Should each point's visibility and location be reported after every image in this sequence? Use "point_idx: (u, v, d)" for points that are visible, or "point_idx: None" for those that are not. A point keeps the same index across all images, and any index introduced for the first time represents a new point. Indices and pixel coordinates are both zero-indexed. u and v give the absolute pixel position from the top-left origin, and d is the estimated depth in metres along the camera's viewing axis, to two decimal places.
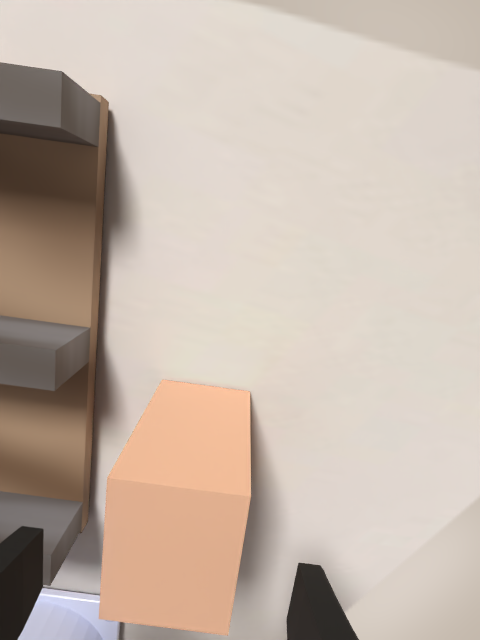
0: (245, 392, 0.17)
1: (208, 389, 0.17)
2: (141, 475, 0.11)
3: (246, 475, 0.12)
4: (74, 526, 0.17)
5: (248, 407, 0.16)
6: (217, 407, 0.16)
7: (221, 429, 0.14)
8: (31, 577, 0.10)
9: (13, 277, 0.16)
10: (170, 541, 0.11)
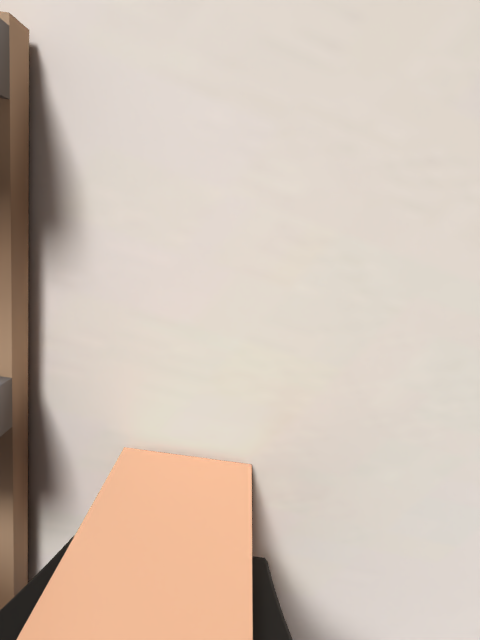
0: (244, 468, 0.12)
1: (190, 463, 0.12)
2: None
3: None
4: None
5: (249, 499, 0.11)
6: (201, 501, 0.10)
7: (204, 557, 0.09)
8: None
9: None
10: None
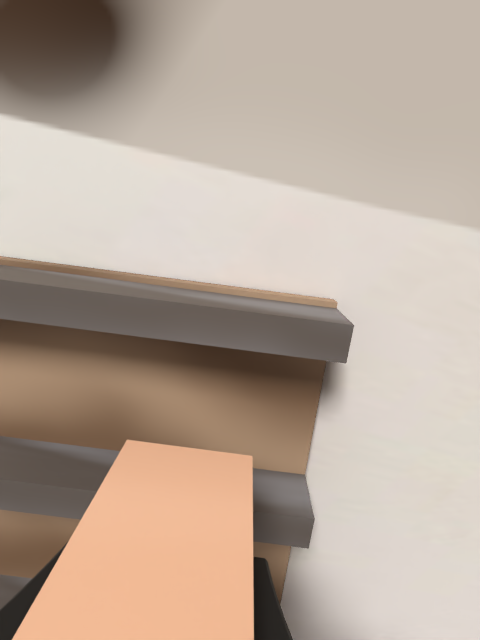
0: (245, 458, 0.12)
1: (192, 455, 0.12)
2: None
3: None
4: None
5: (250, 489, 0.11)
6: (203, 490, 0.10)
7: (206, 543, 0.09)
8: None
9: (245, 436, 0.19)
10: None
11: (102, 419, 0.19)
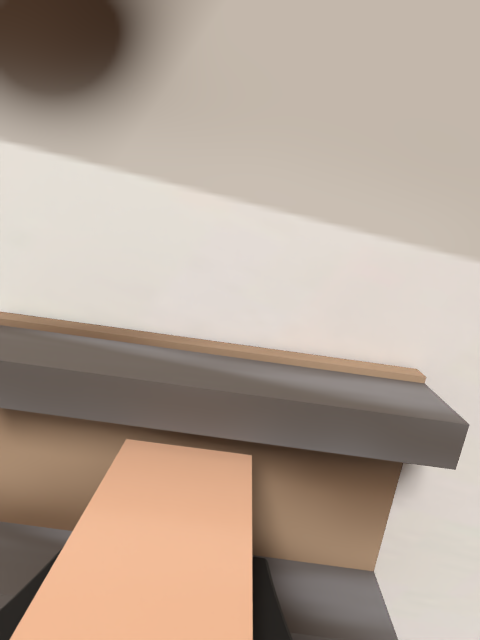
0: (244, 458, 0.12)
1: (191, 454, 0.12)
2: None
3: None
4: None
5: (249, 488, 0.11)
6: (202, 490, 0.10)
7: (205, 542, 0.09)
8: None
9: (304, 528, 0.16)
10: None
11: None
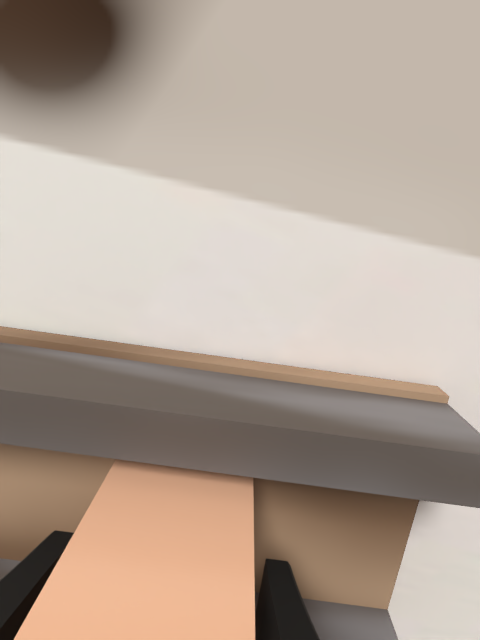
0: None
1: None
2: (69, 638, 0.07)
3: (247, 623, 0.07)
4: None
5: None
6: (207, 473, 0.11)
7: (210, 519, 0.09)
8: None
9: (311, 562, 0.14)
10: None
11: None
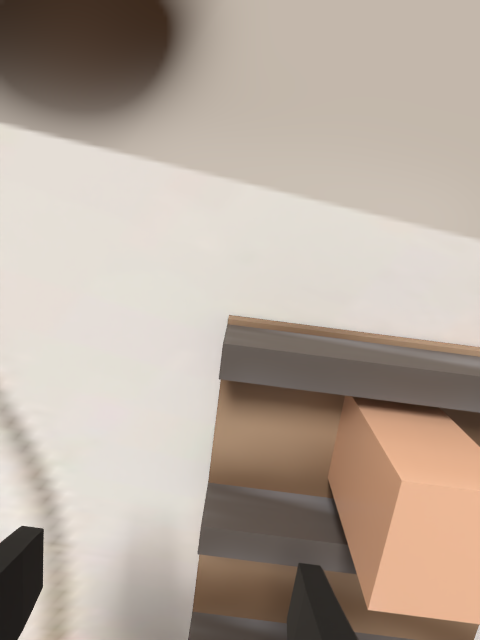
0: None
1: None
2: (426, 478, 0.12)
3: None
4: None
5: (444, 413, 0.17)
6: (418, 413, 0.17)
7: (444, 435, 0.15)
8: (31, 577, 0.10)
9: None
10: (449, 539, 0.12)
11: (326, 469, 0.20)
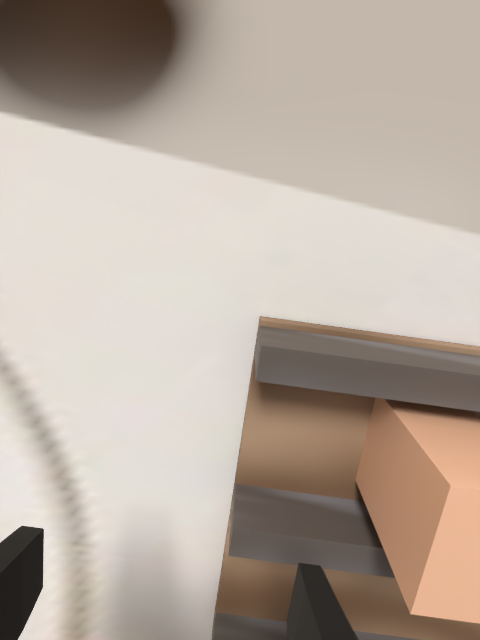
0: None
1: None
2: (473, 483, 0.12)
3: None
4: None
5: (477, 417, 0.17)
6: (452, 416, 0.17)
7: None
8: (31, 577, 0.10)
9: None
10: None
11: (353, 471, 0.20)
